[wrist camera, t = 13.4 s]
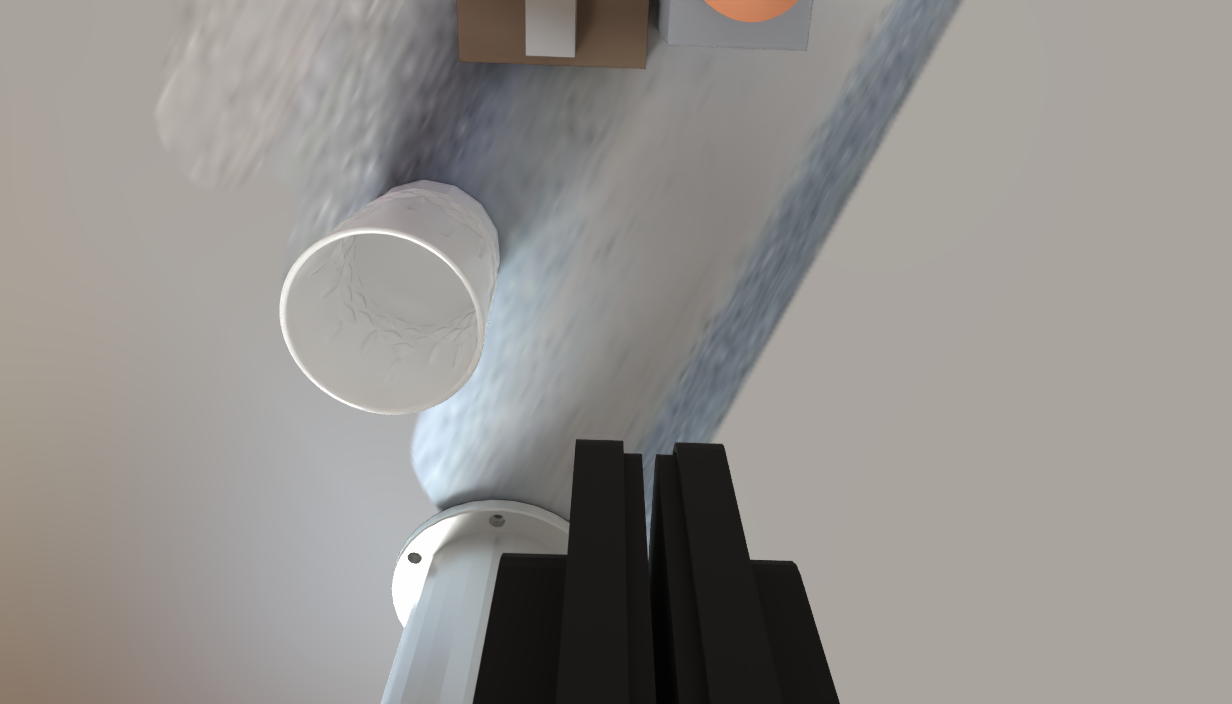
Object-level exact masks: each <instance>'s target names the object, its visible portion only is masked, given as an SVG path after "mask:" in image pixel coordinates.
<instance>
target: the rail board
mask: <svg viewBox="0 0 1232 704" xmlns="http://www.w3.org/2000/svg"><path fill="white" fill-rule="evenodd" d="M648 11H649V0H457V21H458V47H459V61H462V62H487V63H513V64H538V65H563V66H589V67H614V68H639V69H646V51H647V31H648Z"/></svg>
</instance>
